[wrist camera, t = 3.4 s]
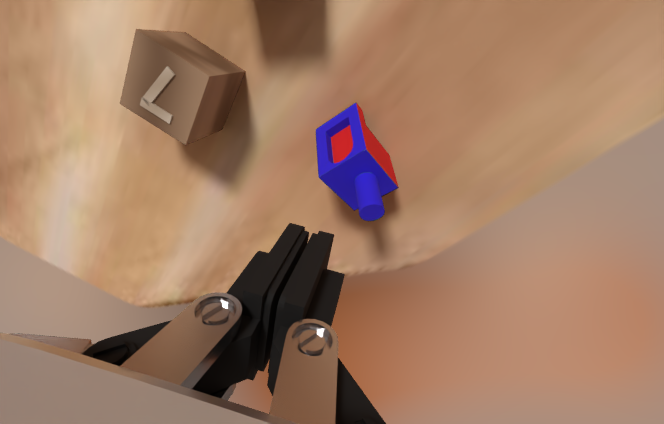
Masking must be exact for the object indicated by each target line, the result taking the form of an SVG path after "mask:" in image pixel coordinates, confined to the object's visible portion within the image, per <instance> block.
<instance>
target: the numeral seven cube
mask: <svg viewBox="0 0 664 424" xmlns="http://www.w3.org/2000/svg"><path fill="white" fill-rule="evenodd" d="M244 74H245V71H244V70H243V69H241V68H240V67H238V66H237V65H235V64H233V63H232V62H230V61H229V60H227V59H226V58H224V57H223V56H221V55H220V54H218V53H216V52H215V51H213V50H212V49H210V48H209V47H207V46H206V45H204V44H203V43H201V42H200V41H198V40H196V39H195V38H193V37H192V36H190V35H189V34H187V33H186V32H171V31H156V30H141V29H136V32H135V36H134V41H133V46H132V50H131V55H130V59H129V64H128V69H127V73H126V78H125V82H124V87H123V92H122V96H121V101H120V104H121V105H122V106H124V107H126V108H127V109H129V110H130V111H132V112H134V113H135V114H137V115H138V116H140V117H142V118H143V119H145V120H146V121H148V122H150V123H151V124H153V125H154V126H156V127H158V128H159V129H161V130H162V131H164V132H165V133H167V134H169V135H170V136H172V137H173V138H175V139H177V140H178V141H180V142H181V143H183V144H185V145H187V144H189V143H192V142H194V141H196V140H199V139H201V138H203V137H206V136H208V135H210V134H213V133H215V132H217V131H220V130H222V129H223V126H224V124H225V121H226V119H227V116H228V114H229V111H230V109H231V106H232V104H233V101H234V99H235V96H236V94H237V91H238V89H239V86H240V84H241V81H242V79H243V76H244Z"/></svg>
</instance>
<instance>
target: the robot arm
mask: <svg viewBox="0 0 664 424" xmlns="http://www.w3.org/2000/svg"><path fill="white" fill-rule="evenodd" d="M304 230H305V227H303V226H299V225H296V224H292V223H290V224H289V225H288V226H287V228H286V229H285V231H284V232H283V233H282V235H281V236H280V238H279V239H278V241H277V242H276V244H275V245H274V247H273V248H272V250H271V251H270V252H269V253H266V252H262V251H258V252H257V253H256V254H255V256H254V257H253V258H252V260H251V261H250V262H249V264H248V265H247V266H246V268H245V269H244V270H243V272H242V273H241V274H240V276H239V277H238V278H237V280H236V281H235V282H234V284H233V285H232V286H231V288H230V289H229V290H228V292H227V293H210V294H206V295H203V296H201V297H199V298H198V299H196V300H195V301H194V302H192V303H191V304H190V305H189V306H188V307H187V308H186V309H184V310H183V311H182V312H181V313H180V314H179V315H178V316H177V317H175V318H174V319H173V320H171V321H168V322H164V323H160V324H157V325H154V326H150V327H146V328H142V329H139V330H135V331H132V332H128V333H124V334H121V335H117V336H114V337H110V338H107V339H104V340H102V341H99V342H97V343H96V344H92V343H91V340H90V339H78V338H67V337H55V336H43V335H32V334H20V333H18V334H5V333H0V424H386V423H385V422H384V420H383V419H382V418H381V416H380V415H379V413H378V412H377V411H376V409H375V408H374V407H373V405H372V404H371V403H370V401H369V400H368V398H367V397H366V395H365V394H364V393H363V391H362V390H361V389H360V387H359V386H358V385H357V383H356V382H355V380H354V379H353V378H352V376H351V375H350V373H349V372H348V370H347V369H346V368H345V366H344V365H343V364H342V362H341V361H340V359H339V358H338V337H337V335H336V333H335V331H334V330H333V329H332V328H331V325H332V321H333V317H334V314H335V310H336V307H337V303H338V299H339V295H340V291H341V287H342V283H343V279H344V275H345V274H342V273H339V272H335V271H331V270H328V269H327V266H328V261H329V256H330V252H331V247H332V243H333V238H334V234H330V233H326V232H322V231H319V233H318V234H315V233H313V234H312V236H311V238H310V240H309V241H308V237H309V232H307V231H304ZM307 242H308V243H307ZM269 359H270V361H269ZM268 361H269V369H268V373H269V377H268V384H267V385H268V388H269V389H270V392H271V394H272V396H273V398H272V403H271V407H270V412H269V414H267V413H264V412H261V411H258V410H255V409H252V408H248V407H245V406H242V405H239V404H236V403H233V402H230V401H228V399H229V398H230V396H231V395H232V394H233V392H234V390H235V388H236V383H238V382H241V381H243V380H245V379H250V380H253V379H254V378H255V375H256V373H257V371H258V370H260V371H264V369H265V367H266V365H267V363H268Z"/></svg>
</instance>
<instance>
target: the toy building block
mask: <svg viewBox="0 0 664 424" xmlns="http://www.w3.org/2000/svg"><path fill="white" fill-rule="evenodd" d="M316 143H317V159H318V175H319V178H320V179H321V180H322V181H323V182H324V183H325V184H326V185H327V186H328V187H329V188H331V189H332V190H333V191H334V192H335V193H336V194H337V195H338V196H339V197H340V198H341V199H342V200H343V201H344V202H346V203H347V204H348V205H349V206H350V207H351V208H352V209H353V210H354V211H355V210H357V209H359V215H360V217H361V218H362V219H363V220H366V221H375V220H378V219H380V218H381V217H382V216H383V215H384V213H385V210H384V205H383V201H382V196H384V195H386V194H388V193H390V192H392V191H393V190H395V189H397V188H399V187H398V184H397V181H396V177H395V174H394V170H393V167H392V163H391V160H390V156H389V154H388V153H387V152H386V150H385V149H384V148H383V146H382V145H381V144H380V143H379V141H378V140H377V139H376V137H375V136H374V135H373V134H372V132H371V131H370V130H369V128H368V127H367V126H366V124H365V120H364V116H363V112H362V110H361V108H360V107H359V106H358V104H357V103H354V104H353V105H351V106H350V107H348V108H347V109H345V110H344V111H342V112H341V113H339V114H338V115H337V116H335V117H334V118H332V119H331V120H329V121H328V122H326V123H325V124H323V125H322V126H320V127H319V128H317V129H316Z"/></svg>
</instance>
